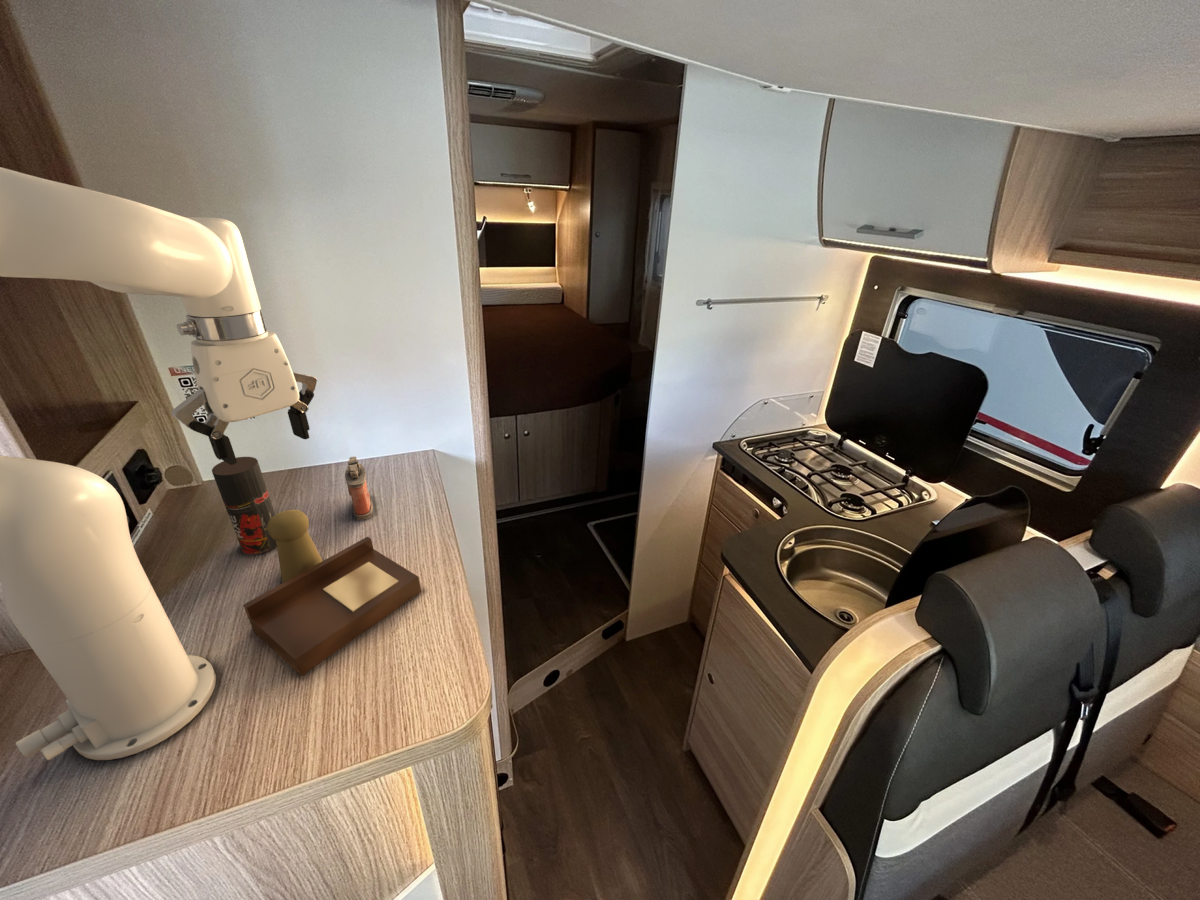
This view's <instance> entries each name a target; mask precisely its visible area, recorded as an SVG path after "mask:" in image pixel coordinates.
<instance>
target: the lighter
mask: <svg viewBox="0 0 1200 900" xmlns="http://www.w3.org/2000/svg"><path fill="white" fill-rule="evenodd" d="M366 473H367V472H366V469H365V467H364V465H363V464H362V463H360V462H359V460H358V458H357V456H350V457H349V458H348V460H347V466H346V469H345V473H344V478H345V483H346V486H347V490H348V494H349V496H350V499H351V502H352V504H351V506H352V511H353V515H354V517H355V519H356V520H357V521H358V520H360V521H363V520H367V519H369V518H371V517H372V515H373V511H374V505H373V500H372V498H371V495H370V493H369V487H368V484H367V474H366Z"/></svg>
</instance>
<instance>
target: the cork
mask: <svg viewBox="0 0 1200 900" xmlns="http://www.w3.org/2000/svg"><path fill="white" fill-rule="evenodd" d="M309 527H310V521H309V518H308V516H307V514H305V512H303V511H302V510H299V509H287V510H283V511H280V512H278V513H275V515H274V516H273V517H272V518H271V519H270V520H269V522H268V532H269V535H270V536H271V537H272V538H273V539H275V540H276V544H277V547H276V549H277V550H276V551H277V556H278V557H277V558H278V562H279V563H278V565H279V569H280V570H279V571H280V577H281V584H282V583H284V582H285V581H287V580H289V579H291V578H293V577H295V576H296V575H298V574H300V573H302V572H304V571H306V570H307V569H309V568H311V567H313V566H315V565H316V564H318V563H320V562H322V561H323V559H322V557H321V555H320V553H319V551H318V549H317V547H316V545H315V543H314V540H312V537H311V535H310V533H309V531H308V529H309Z"/></svg>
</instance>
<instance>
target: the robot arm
mask: <svg viewBox="0 0 1200 900" xmlns="http://www.w3.org/2000/svg"><path fill="white" fill-rule="evenodd" d="M246 251H247V250H246V248H245V244H244V241H243V237H242V233H241V231H240V229H239V227H238V226H237V225H236V224H235V223H234V222H232V221H230V220H229V219H225V218H219V217H197V216H196V217H195V216H193V217H189V216H188V217H187V216H186V217H185V216H182V215H180V214H179V215H178V214H176V213H174V212H169V211H167V210H164V209H161V208H157V207H155V206H151V205H148V204H144V203H141V202H138V201H135V200H132V199H128V198H124V197H120V196H116V195H113V194H109V193H106V192H100V191H97V190H92V189H89V188H85V187H81V186H76V185H71V184H67V183H64V182H60V181H54V180H50V179H46V178H42V177H38V176H34V175H30V174H27V173H24V172H21V171H20V172H19V171H17V170H13V169H9V168H5V167H1V166H0V277H2V278H25V279H26V278H28V279H54V280H68V281H82V282H88V283H89V282H90V283H91V284H93V285H95V286H98V287H100V288H103V289H105V290H109V291H111V292H117V293H123V294H130V295H142V296H162V297H163V296H165V297H179V298H181V300H182V302H183V306H184V308H185V312H186V315H185V317H186V321H183V323H177V324H176V329H177V332H178V333H179V335H180V336H187V335H188V336H192V337H193V338H194V340H191V341H190V351H191V352H190V353H191V361H192V367H193V373H194V377H195V381H196V386H197V390H196V391H195V392H193V394H191V395H189V397H187V398H185V400H183V401H182V402H181V403H179V404H178V405H177V406H175V407H174V408H173V409H172V410H171V413H170V414H171V416H173V417H174V418H175V419H177V421H179V422H180V423H182V424H183V425H184V426H185V427H187V428H188V429H190V430H192V431H194V432H195V433H198V434H201V435H203V436H206V437H208V440H209V442H210V446H211V448H212V451H213V454H214V456H215V458H216V459H217V460H218V461H220V460H221V461H222V462H223V461H225V462H226V463H228V464H230V465H233V464H236V462H237V460H236V458H237V456H236V454H235V451H234V448H233V446H232V442H231V440H230V438H229V436H227V435H225V431H226V429H227V428H228V426H229V424H230V423H236V422H241V421H244V420H248V419H252V418H255V417H259V416H261V415H266V414H270V413H272V412H276V411H279V410H283V409H287V408H288V409H287V415H288V416H287V417H288V419H289V423H290V428H291V430H292V434H293V435H294V436H295V437H298V438H300V439H302V440H308V439H310V435H309V434H310V433H309V431H310V424H309V419H308V417H307V412H308V411H309V405H310V404H311V402H312V400H313V399H314V397H315V393H314V392H315V390H316V386H317V382H318V378H317V377H315V376H313V375H310V374H305V373H301V372H297V371H293V370H292V366H291V363H290V361H289V359H288V357H287V354H286V352H285V350H284V347H283V345H282V343H281V341H280V339H279V337H278V335H277V334H276V333H275V332H274V331H270V330H268V328H267V324H266V321H265V318H264V314H263V310H262V307H261V302H260V299H259V296H258V292H257V289H256V285H255V281H254V278H253V274H252V271H251V266H250V262H249V259H248V256H247V252H246ZM297 383H301V384H302V385H301V389H300V390H299V386H298V384H297ZM202 406H203V408H204V410H205V412H206V413H207V414H208V416H207V418H206V420H205V422H202V421H199V420H198V419H196V418H195V417H194V415H193V414H194V413H195V412H196V411H197V410H199V409H200V408H201V407H202ZM130 533H131V532H130V528H129V523H128V516H127V512H126V508H125V504H124V500H123V499H122V497H121V495H120V493H119V492H118V491H117V489H116V488H115V487H114V486H113V485H112V484H111V483H110V482H108V481H107V480H106V479H105V478H103V477H102V476H99V475H98V474H96V473H94V472H91V471H89V470H88V469H87V470H86V469H84V468H82V467H78V466H75V465H71V464H66V463H62V462H56V461H49V460H43V459H35V458H28V457H18V456H8V455H0V586H1V594H2V595H1V596H2V602H3V606H4V608H5V610H6V613H7V615H8V616H9V618H10V620H11V622H12V623H13V625H14V626H15V628H16V629H17V631H18V632H19V634H20V635H21V637H23V639H24V640H25V641H26V643H27V644H28V645H29V647H30V648H31V649H32V651H33V652H34V654H35V655H36V657H37V658H38V659H39V661H40V662H41V663H42V665H43V666H44V668H45V669H46V670H47V672H48V673H49V675H50V676H51V678H52V679H53V680H54V682H55V683H56V684H57V686H58V687H59V689H60V690H61V691H62V693H63V694H64V696H65V698H66V700H65V704H66V705H67V707H68V709H67V710H65V711H64V712H61V713H60V714H58V715H57V720H55V721H53V722H51V723H49V724H48V725H45V726H44V727H42V728H41V729H40V728H39V729H37V730H35V731H34V732H31V733H30V734H28V735H27V736H24V737H23V738H21V739H19V740H17V741H15V746H16V747H17V749H18V751H19V752H20V754H21V756H23V757H24V758H25V759H28V758H29V757H31V756H33V755H35V754H36V753H38V752H39V751H41V753H42V755H43V757H44V758H45V759H46V760H47V761H50V760H52V759H53V758H56V757H57V756H59V755H60V754H62V753H63V752H65V751H66V750H68V749H69V748H70V747H73V748H74V749H75V750H76V752H77V753H78V754H79V755H81V756H83V757H84V758H86V759H89V760H94V761H111V760H117V759H123V758H126V757H129V756H132V755H135V754H139V753H141V752H143V751H145V750H148V749H150V748H152V747H154V746H157V745H158V744H159V743H161V742H164V741H166V740H167V739H168V738H170V737H171V736H173V735H174V734H176V733H177V732H179V731H180V730H181V729H183V728H184V727H185V726H187V724H189V723H190V722H191V721H192V720H193V719H194V718H195V717H196V716H197V715H199V713H200V712H201V711H202V710H203V708H205V706H206V704H207V703H208V702H209V701H210V698H211V697H212V695H213V693H214V690H215V688H216V684H217V676H216V671H215V669H214V668H213V666H212V665H213V664H212V663H210V662H209V661H208V660H207V658H204V657H201V656H200V655H199V656H198V655H194V654H187V652H186V650H185V648H184V646H183V644H182V643H181V640H180V639H179V636H178V634H177V632H176V631H175V629H174V627H173V625H172V623H171V621H170V618H169V617H168V615H167V613H166V611H165V609H164V607H163V605H162V602H161V601H160V599H159V597H158V596H157V594H156V591H155V590H154V587H153V585H152V583H151V582H150V579H149V578H148V576H147V574H146V571H145V570H144V567H143V566H142V564H141V562H140V559H139V557H138V555H137V552H136V550H135V548H134V544H133V541H132V538H131V534H130Z"/></svg>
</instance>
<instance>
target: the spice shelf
mask: <svg viewBox="0 0 1200 900" xmlns="http://www.w3.org/2000/svg"><path fill="white" fill-rule="evenodd" d="M420 593H422V588H421V582H420V578H419V576H418V575H417V574H415V573H413V572H412V571H410V570H409V569H407V568H405V567H404V566H402V565H400V564H399V563H397V562H396V561H394V560H393V559H391V558H389V557H387V556H386V555H384V554H382V553H381V552H380V551H378V550H376V549H374V546H373V541H372V538H371V537H369V536H366V537H364V538H362V539H360V540H358V541H356V542H355V543H353V544H351V545H349V546H348V547H345V548H344V549H341V550H340V551H338V552H337V553H334V554H333V555H331V556H329V557H327V558H326V559H324V560H322V562H320V563H318V564H316V565H315V566H313V567H311V568H309V569H307V570H306V571H304V572H302V573H300V574H298V575H296V576H295V577H293V578H291V579H289V580H287V581H285V582H284V583H282V582H281V583H280V584H278V585H276V586H274V587H272V588H271V589H268V590H267V591H266V592H264V593H262V594H260V595H258V596H256V597H254V598H253V599H251V600H249V601H247V602H245V603H244V604H243V605H242V606H243V609H244V610H245V613H246V616H247V619H248V621H249V623H250V626H251V628H252V630H253V633H254V634H255V635H256V636H257V637H258V638H260V639H261V640H262V641H263V642H264V643H265V644H266V645H268V647H270V648H271V650H273V651H274V652H275V653H276V654H277V655H278V656H279V657H280V658H281V659H283V661H285V662H286V663H287V664H288V665H289V666H290V667H291V668H292V669H293V670H294V671H295V672H296V673H297V674H299V676H301V677H303V675H305V674H306V673H308V672H310V671H311V670H312V669H314V668H315V667H316V666H318V665H319V664H320V663H322V662H323V661H325V660H327V659H328V658H329V657H331V656H332V655H334V654H335V653H336V652H338V651H339V650H340V649H342V648H343V647H345V646H346V645H348V644H349V643H351V642H352V641H353V640H355V639H356V638H358V637H360V635H362V634H363V633H365V632H366V631H368V630H369V629H371V628H372V627H374V626H375V625H376V624H378V623H379V622H381V621H382V620H383V619H385V618H386V617H388V616H389V615H391V614H392V613H393V612H394V611H396V610H397V609H399V608H400V607H402V606H404V604H406V603H408V602H409V601H410V600H412V599H413V598H415V597H416V596H418V595H419V594H420Z"/></svg>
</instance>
